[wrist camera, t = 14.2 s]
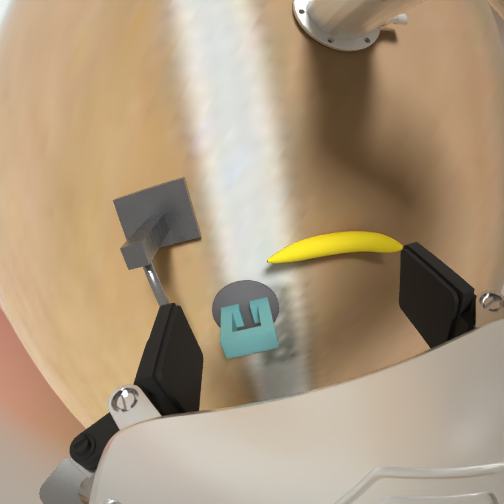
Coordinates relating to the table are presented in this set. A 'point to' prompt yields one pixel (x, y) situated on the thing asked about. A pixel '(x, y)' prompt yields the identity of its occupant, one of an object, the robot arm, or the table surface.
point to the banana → (336, 246)
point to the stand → (155, 226)
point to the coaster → (244, 301)
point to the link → (247, 330)
